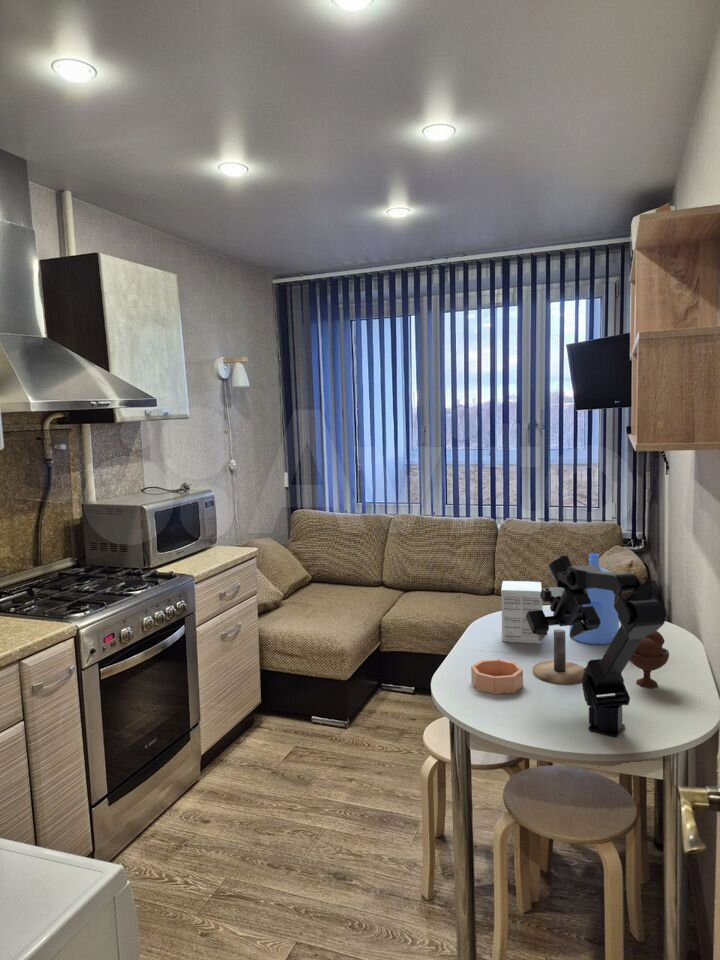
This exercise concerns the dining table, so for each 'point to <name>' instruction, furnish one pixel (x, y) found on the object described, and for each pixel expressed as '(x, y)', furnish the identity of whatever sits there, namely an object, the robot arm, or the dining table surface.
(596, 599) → the water jug
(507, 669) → the terracotta bowl
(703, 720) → the dining table surface
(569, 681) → the walnut lid
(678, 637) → the dining table surface
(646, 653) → the ice cream bowl
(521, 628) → the supplement box
